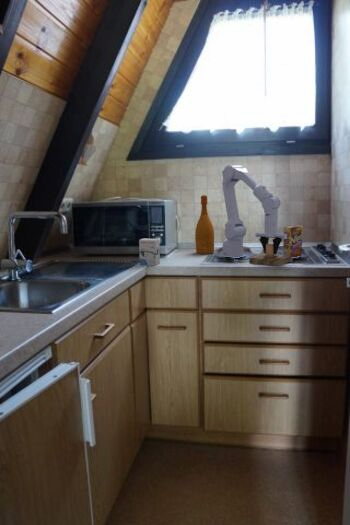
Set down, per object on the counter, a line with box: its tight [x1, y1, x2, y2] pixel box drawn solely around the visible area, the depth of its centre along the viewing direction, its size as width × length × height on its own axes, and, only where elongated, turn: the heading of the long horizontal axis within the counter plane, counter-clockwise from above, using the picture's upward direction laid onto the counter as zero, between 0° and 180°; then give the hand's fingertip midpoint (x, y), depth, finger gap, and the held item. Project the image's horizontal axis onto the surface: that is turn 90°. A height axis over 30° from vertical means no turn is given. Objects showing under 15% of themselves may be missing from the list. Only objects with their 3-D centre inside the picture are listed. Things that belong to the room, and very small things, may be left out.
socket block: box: [248, 252, 292, 267], centre depth 194 cm, size 14×14×2 cm
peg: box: [266, 242, 275, 258], centre depth 193 cm, size 4×4×7 cm
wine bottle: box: [194, 194, 215, 255], centre depth 221 cm, size 10×10×30 cm
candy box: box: [282, 225, 304, 258], centre depth 200 cm, size 9×4×15 cm, turn 123°
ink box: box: [138, 237, 161, 266], centre depth 198 cm, size 9×5×12 cm, turn 71°
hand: (270, 253), depth 194 cm, fingers closed on peg, 4 cm apart
